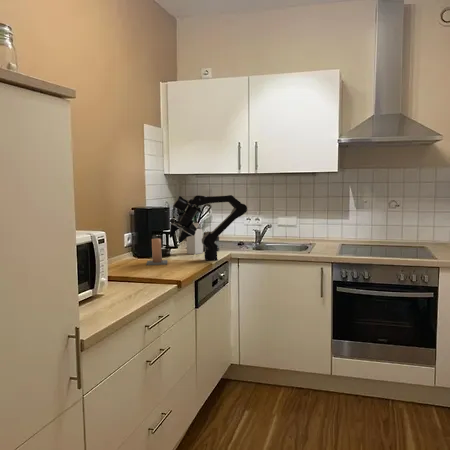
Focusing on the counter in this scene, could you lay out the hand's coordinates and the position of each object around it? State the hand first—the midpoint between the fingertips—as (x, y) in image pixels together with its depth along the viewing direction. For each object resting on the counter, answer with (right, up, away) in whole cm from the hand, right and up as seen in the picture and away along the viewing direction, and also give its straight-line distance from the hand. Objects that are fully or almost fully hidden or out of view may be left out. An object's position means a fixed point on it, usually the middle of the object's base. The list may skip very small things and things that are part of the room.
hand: (174, 240), depth 257 cm
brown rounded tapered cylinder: (-9, -12, -3) cm, 15 cm away
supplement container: (+19, -8, +43) cm, 48 cm away
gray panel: (-9, -12, -3) cm, 16 cm away
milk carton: (+9, -9, +32) cm, 35 cm away
